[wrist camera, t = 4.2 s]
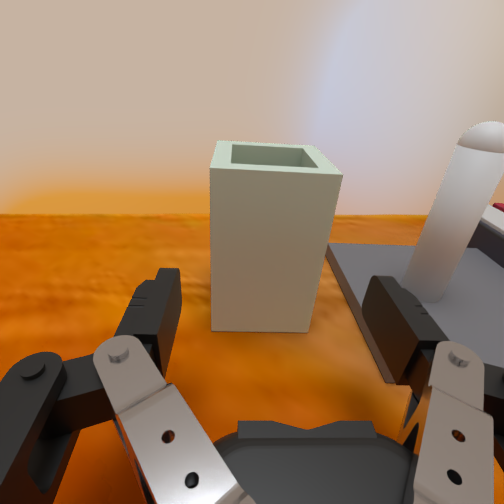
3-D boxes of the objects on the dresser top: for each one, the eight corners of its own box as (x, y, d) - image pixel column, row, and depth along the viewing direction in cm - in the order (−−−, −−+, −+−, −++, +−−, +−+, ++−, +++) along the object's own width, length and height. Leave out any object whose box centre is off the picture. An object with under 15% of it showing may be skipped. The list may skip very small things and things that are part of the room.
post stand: (385, 382, 16) (498, 141, 10) (325, 254, 27) (358, 103, 21) (625, 383, 17) (872, 164, 11) (472, 259, 28) (547, 116, 22)
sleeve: (211, 331, 18) (209, 167, 13) (217, 273, 23) (217, 140, 18) (308, 332, 19) (342, 174, 14) (292, 276, 24) (314, 145, 19)
